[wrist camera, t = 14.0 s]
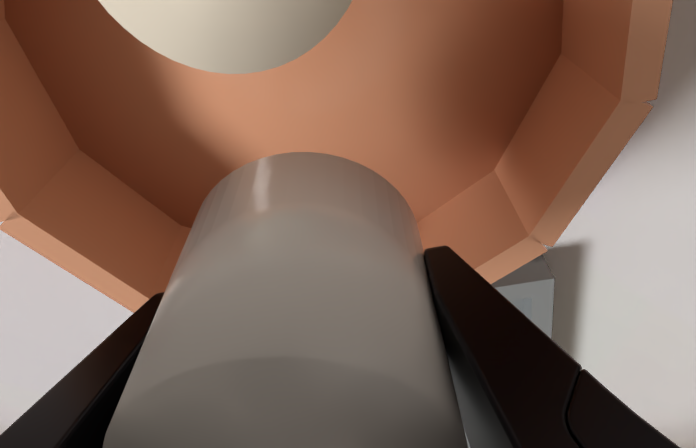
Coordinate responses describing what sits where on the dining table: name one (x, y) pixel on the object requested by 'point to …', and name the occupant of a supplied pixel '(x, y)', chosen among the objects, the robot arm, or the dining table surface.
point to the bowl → (320, 124)
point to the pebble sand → (229, 30)
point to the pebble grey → (295, 321)
